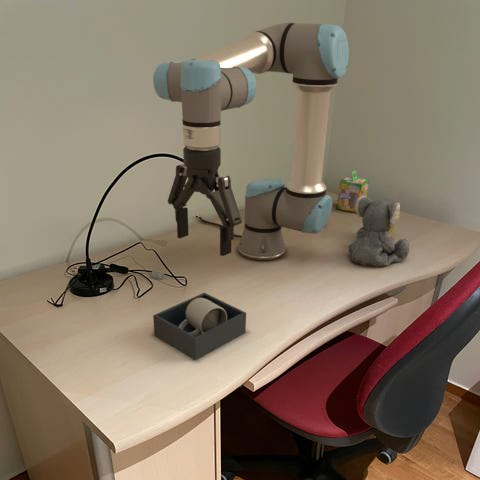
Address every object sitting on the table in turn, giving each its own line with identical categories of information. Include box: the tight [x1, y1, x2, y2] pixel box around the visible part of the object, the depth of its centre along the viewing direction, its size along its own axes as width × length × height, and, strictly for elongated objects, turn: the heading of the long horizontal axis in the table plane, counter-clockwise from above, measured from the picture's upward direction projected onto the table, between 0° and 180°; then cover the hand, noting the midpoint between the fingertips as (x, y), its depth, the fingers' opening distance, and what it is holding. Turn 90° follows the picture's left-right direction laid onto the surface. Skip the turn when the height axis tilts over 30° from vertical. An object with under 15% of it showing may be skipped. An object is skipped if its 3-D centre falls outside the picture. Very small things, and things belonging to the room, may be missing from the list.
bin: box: [152, 292, 247, 361], centre depth 123 cm, size 14×16×6 cm
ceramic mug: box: [179, 298, 227, 337], centre depth 122 cm, size 11×8×8 cm
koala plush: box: [347, 196, 410, 267], centre depth 161 cm, size 17×18×20 cm
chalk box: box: [336, 169, 370, 213], centre depth 205 cm, size 9×9×15 cm
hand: (203, 245), depth 115 cm, fingers open, 13 cm apart
